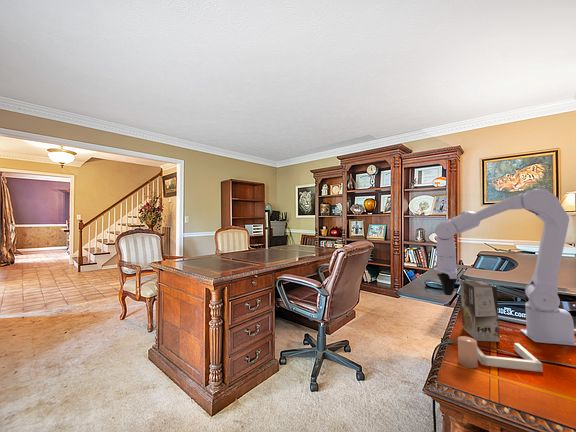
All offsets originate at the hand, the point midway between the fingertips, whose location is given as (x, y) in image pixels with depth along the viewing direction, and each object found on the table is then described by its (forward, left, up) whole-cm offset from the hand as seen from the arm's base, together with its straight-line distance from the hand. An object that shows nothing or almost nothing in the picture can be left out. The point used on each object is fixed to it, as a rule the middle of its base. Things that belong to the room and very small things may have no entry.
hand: (448, 294), depth 90 cm
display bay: (-6, +23, -9) cm, 25 cm away
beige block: (+3, +28, -9) cm, 29 cm away
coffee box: (-6, +9, -10) cm, 15 cm away
